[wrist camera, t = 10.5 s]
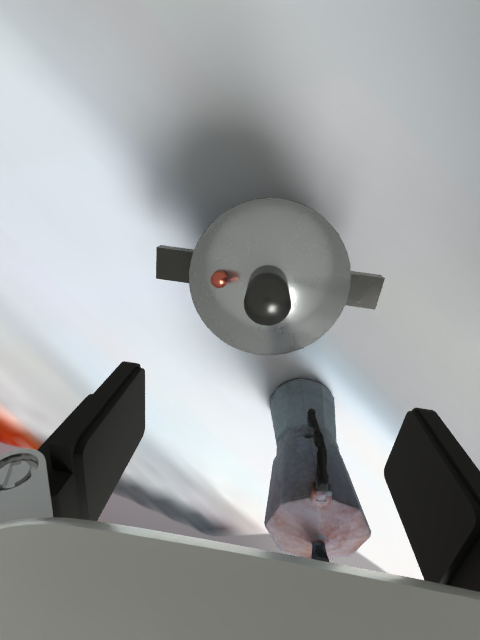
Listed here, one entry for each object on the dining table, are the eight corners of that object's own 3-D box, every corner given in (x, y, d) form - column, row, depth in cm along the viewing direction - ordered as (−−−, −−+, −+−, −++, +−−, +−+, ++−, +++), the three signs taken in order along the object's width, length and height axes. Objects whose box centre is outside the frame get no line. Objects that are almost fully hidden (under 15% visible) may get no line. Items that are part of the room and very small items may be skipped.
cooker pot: (372, 214, 33) (406, 221, 25) (342, 323, 38) (363, 359, 30) (182, 189, 34) (154, 188, 26) (177, 300, 39) (153, 328, 31)
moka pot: (269, 444, 47) (269, 606, 28) (261, 354, 41) (254, 485, 23) (334, 443, 46) (377, 612, 27) (335, 351, 40) (390, 486, 22)
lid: (367, 210, 25) (396, 215, 19) (326, 359, 30) (340, 398, 25) (197, 187, 26) (175, 185, 20) (187, 337, 31) (168, 371, 25)
